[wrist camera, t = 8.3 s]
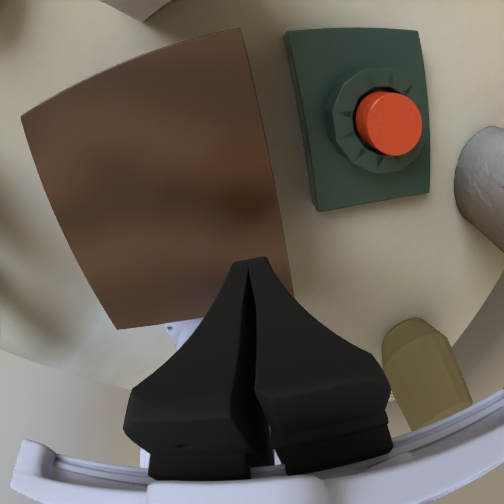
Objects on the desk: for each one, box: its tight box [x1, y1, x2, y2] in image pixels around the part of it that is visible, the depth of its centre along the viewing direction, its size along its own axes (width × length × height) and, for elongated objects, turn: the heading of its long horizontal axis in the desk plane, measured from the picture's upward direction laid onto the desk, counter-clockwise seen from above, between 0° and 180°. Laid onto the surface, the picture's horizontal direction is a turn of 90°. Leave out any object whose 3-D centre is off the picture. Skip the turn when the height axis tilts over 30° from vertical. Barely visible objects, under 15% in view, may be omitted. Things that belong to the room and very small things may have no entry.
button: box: [356, 91, 422, 156], centre depth 15 cm, size 4×4×2 cm
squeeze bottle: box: [382, 319, 472, 431], centre depth 23 cm, size 8×8×18 cm
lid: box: [21, 28, 295, 330], centre depth 14 cm, size 14×11×1 cm
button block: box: [283, 28, 430, 212], centre depth 16 cm, size 12×9×4 cm
